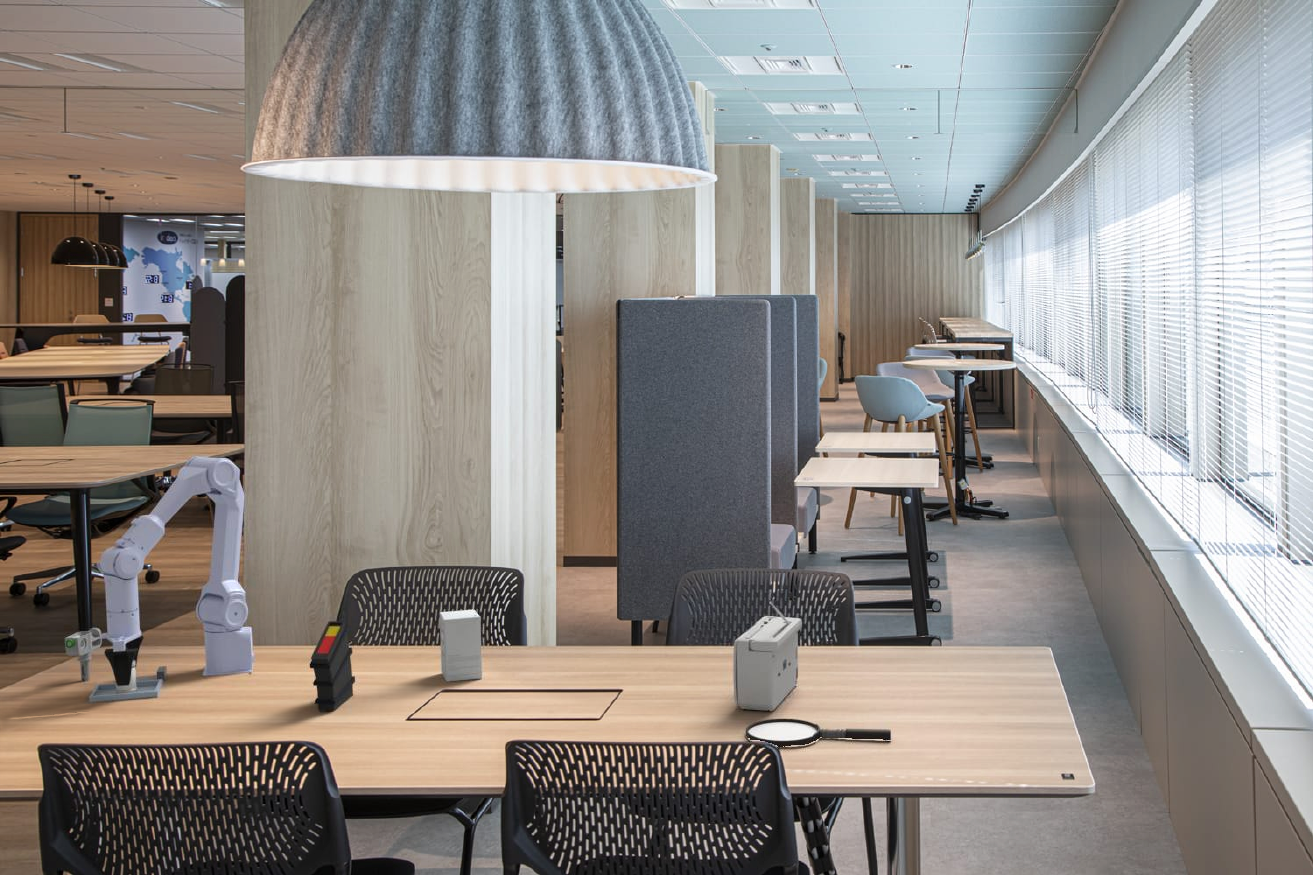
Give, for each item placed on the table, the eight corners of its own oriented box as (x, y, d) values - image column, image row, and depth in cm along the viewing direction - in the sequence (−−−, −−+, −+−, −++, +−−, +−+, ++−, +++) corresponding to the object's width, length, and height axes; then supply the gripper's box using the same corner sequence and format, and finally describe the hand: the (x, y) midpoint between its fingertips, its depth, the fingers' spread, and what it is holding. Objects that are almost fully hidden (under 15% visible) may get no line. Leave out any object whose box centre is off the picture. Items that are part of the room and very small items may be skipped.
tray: (162, 686, 251) (162, 679, 251) (157, 699, 242) (157, 691, 242) (96, 691, 248) (96, 684, 248) (89, 704, 239) (88, 696, 239)
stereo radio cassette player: (762, 681, 249) (761, 579, 247) (803, 684, 246) (803, 581, 245) (732, 711, 229) (730, 601, 228) (776, 715, 227) (776, 603, 225)
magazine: (360, 682, 246) (346, 620, 238) (340, 730, 235) (325, 666, 227) (341, 681, 246) (327, 619, 239) (320, 729, 235) (304, 666, 227)
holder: (168, 676, 259) (167, 665, 259) (165, 682, 254) (165, 671, 254) (123, 679, 257) (123, 668, 256) (119, 686, 252) (119, 675, 251)
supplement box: (477, 669, 260) (475, 608, 259) (482, 679, 253) (481, 616, 252) (440, 673, 258) (439, 611, 257) (445, 682, 251) (443, 618, 250)
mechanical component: (106, 675, 260) (103, 626, 259) (78, 689, 250) (76, 638, 249) (92, 675, 260) (89, 626, 259) (64, 689, 250) (61, 638, 249)
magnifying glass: (891, 754, 206) (891, 741, 205) (742, 751, 210) (741, 738, 210) (890, 730, 218) (890, 718, 218) (749, 728, 222) (749, 715, 222)
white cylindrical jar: (137, 689, 247) (136, 658, 247) (135, 694, 244) (134, 663, 243) (117, 691, 246) (115, 660, 246) (114, 696, 243) (113, 665, 242)
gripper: (105, 603, 250) (109, 672, 251) (94, 619, 236) (97, 691, 237) (144, 601, 251) (147, 669, 252) (135, 616, 237) (138, 688, 239)
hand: (126, 680), depth 245 cm, fingers open, 7 cm apart
